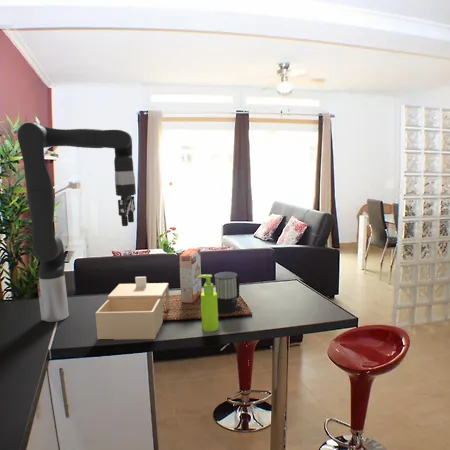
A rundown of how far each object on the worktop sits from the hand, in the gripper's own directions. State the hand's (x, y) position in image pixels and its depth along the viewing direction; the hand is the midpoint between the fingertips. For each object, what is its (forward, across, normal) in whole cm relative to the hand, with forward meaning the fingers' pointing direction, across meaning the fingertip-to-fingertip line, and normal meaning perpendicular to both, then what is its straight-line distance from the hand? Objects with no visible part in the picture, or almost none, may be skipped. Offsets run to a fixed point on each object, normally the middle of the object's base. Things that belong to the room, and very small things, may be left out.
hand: (128, 224), depth 156 cm
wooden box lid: (+26, +5, +4) cm, 27 cm away
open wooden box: (+36, +12, +4) cm, 38 cm away
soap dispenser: (+36, +18, +32) cm, 52 cm away
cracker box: (+36, -14, +22) cm, 45 cm away
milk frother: (+36, -2, +35) cm, 51 cm away
